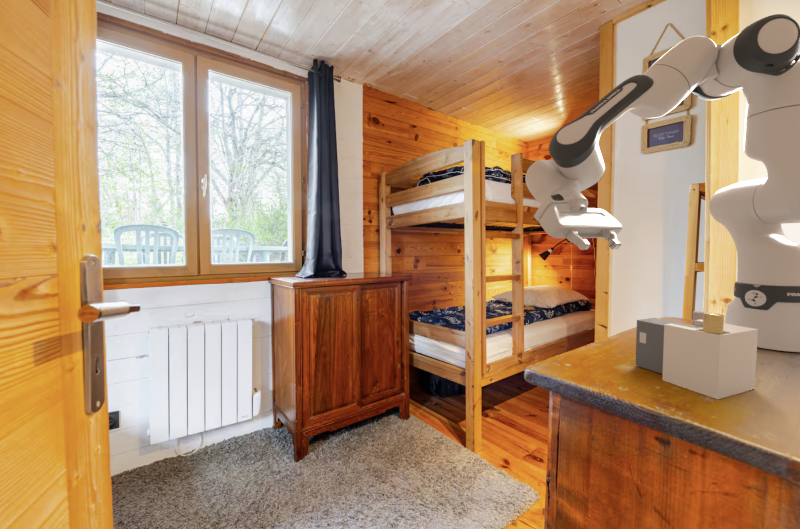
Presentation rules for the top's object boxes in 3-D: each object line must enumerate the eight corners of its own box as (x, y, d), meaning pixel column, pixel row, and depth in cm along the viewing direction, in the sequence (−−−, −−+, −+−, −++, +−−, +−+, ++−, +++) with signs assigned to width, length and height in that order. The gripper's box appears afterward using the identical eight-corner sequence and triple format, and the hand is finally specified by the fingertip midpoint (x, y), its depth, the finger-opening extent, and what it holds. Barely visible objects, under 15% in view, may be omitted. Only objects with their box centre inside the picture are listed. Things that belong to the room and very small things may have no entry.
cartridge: (653, 361, 69) (654, 317, 68) (706, 377, 60) (708, 327, 60) (635, 365, 67) (636, 320, 66) (687, 382, 59) (689, 330, 58)
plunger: (707, 348, 56) (709, 312, 56) (725, 352, 54) (727, 315, 54) (698, 350, 55) (699, 313, 55) (716, 354, 53) (718, 316, 53)
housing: (698, 372, 64) (700, 319, 63) (754, 388, 56) (757, 329, 55) (662, 380, 60) (664, 324, 59) (717, 399, 53) (720, 335, 52)
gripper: (590, 218, 90) (625, 256, 82) (528, 216, 83) (559, 258, 74) (606, 199, 86) (644, 237, 77) (541, 196, 79) (576, 237, 70)
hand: (602, 247), depth 76 cm, fingers open, 8 cm apart
